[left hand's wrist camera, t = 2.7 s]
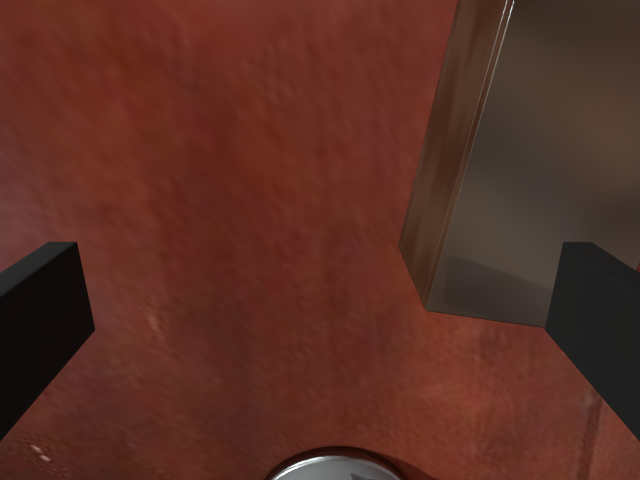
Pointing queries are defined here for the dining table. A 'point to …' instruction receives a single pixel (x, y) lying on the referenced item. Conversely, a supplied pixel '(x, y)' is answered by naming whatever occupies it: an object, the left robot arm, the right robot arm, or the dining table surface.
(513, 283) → the cabinet
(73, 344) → the left robot arm
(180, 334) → the dining table surface
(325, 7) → the dining table surface
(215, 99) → the dining table surface
